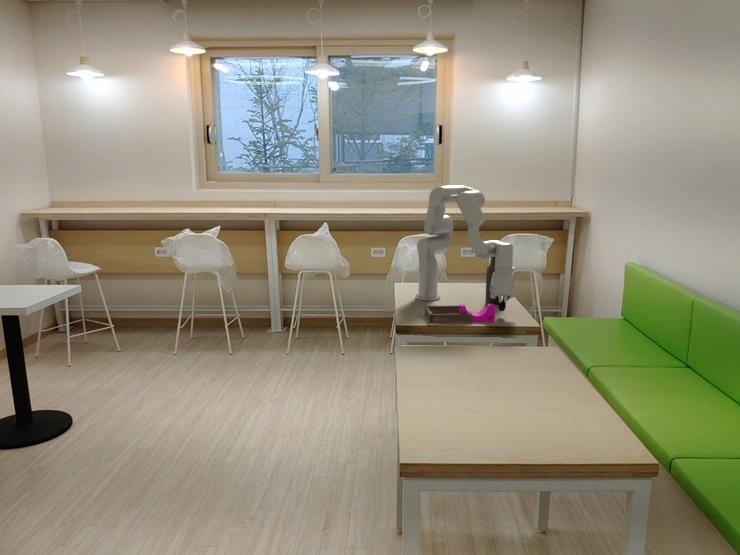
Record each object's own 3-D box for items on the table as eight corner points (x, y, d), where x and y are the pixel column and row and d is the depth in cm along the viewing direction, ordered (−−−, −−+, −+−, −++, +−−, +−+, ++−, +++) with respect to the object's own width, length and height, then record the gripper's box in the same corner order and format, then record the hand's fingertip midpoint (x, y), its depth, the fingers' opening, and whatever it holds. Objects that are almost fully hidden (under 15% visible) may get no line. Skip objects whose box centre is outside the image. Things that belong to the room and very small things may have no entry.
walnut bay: (424, 314, 269) (424, 306, 268) (463, 313, 270) (463, 305, 269) (430, 323, 255) (430, 314, 254) (471, 322, 256) (471, 313, 255)
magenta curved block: (492, 318, 263) (492, 302, 261) (494, 322, 257) (495, 305, 255) (458, 318, 263) (459, 302, 262) (460, 322, 257) (460, 305, 256)
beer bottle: (495, 300, 293) (498, 241, 287) (503, 304, 286) (506, 243, 280) (482, 302, 291) (484, 242, 285) (490, 305, 284) (492, 244, 278)
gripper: (517, 268, 264) (515, 307, 268) (484, 269, 263) (483, 308, 267) (522, 271, 257) (520, 312, 261) (489, 272, 256) (487, 313, 259)
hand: (501, 310), depth 264 cm, fingers closed
